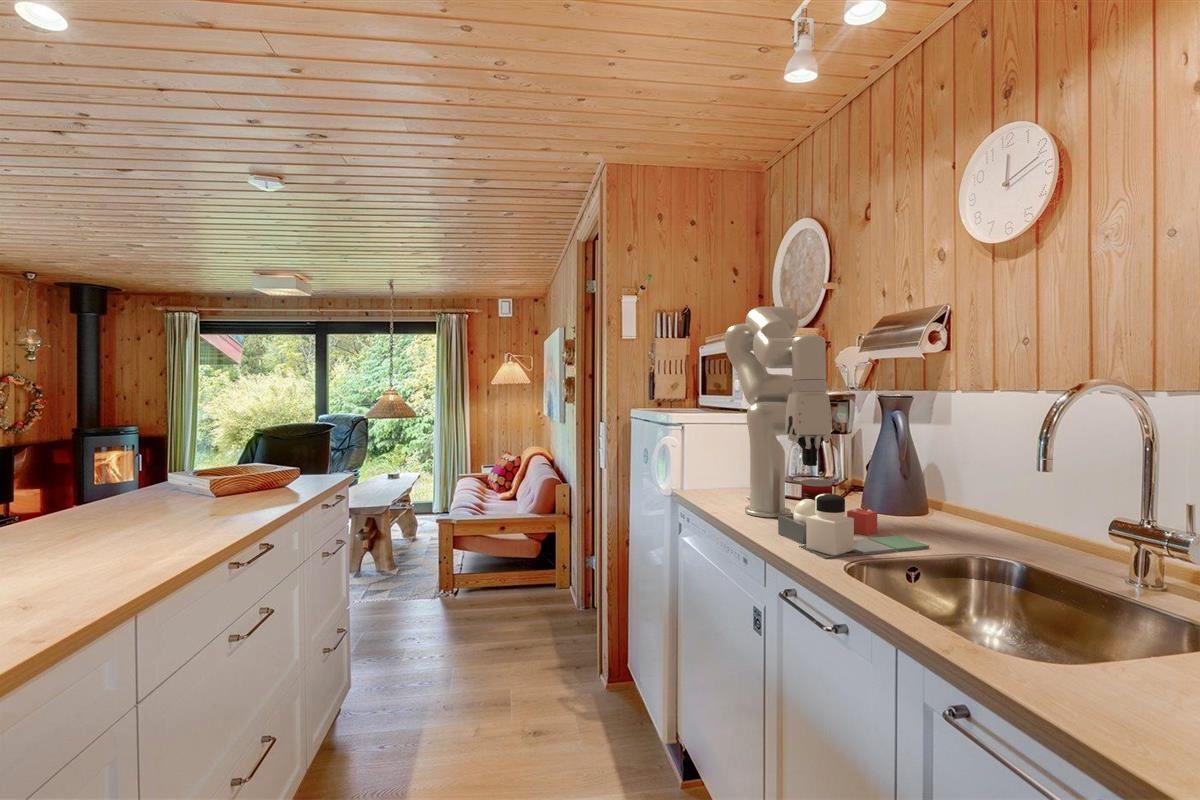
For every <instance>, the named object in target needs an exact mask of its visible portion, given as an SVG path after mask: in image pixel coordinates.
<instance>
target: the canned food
mask: <svg viewBox="0 0 1200 800" xmlns="http://www.w3.org/2000/svg"><path fill="white" fill-rule="evenodd" d="M800 485H801V494H800V498H801V500H804V499H812V500H814V501H815V497H816V496H818V495H820V494H833V482H832V481H831V480H827V479H818V478H817V479H815V478H814V479H813V478H808V479H807V478H806V479H803V480H801V484H800ZM801 500H800V501H801Z"/></svg>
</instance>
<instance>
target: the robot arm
mask: <svg viewBox="0 0 1200 800" xmlns="http://www.w3.org/2000/svg"><path fill="white" fill-rule="evenodd" d="M798 327H799V316H798V314H797V312H796V311H795V309H793V308H792V307H790V306H758V307H755V308H753V309H751V310H750V311H749V312H748V313H747V314H746V317H745V323H739V324H734V325H732V326H730V327H729V328H727V329H726V331H725V335H724V349H725V352H726V355H727V357H728V360H729V362H730V363H731V365H732V367H733V368H734V370H735V372H736V373H737V376H738V380H739V383H740V386H741V389H742V392H743V396H744V399H745V400H746V402H747V403H748V404H749V405H750V406H749V407H748V409H747V411H746V423H747V430H748V437H749V438H748V439H749V464H750V465H749V468H750V469H749V470H750V471H749V476H750V477H749V479H750V481H749V485H750V488H749V491H750V492H749V493H750V494H749V495H748V496H747V497H746V499H747V501H749V505H747V506H745V507H744V513H746V514H747V515H750V516H754V517H761V518H778V516H781V515H782V516H784V515H792V511H791V508H789V507H787V506H786V453H785V448H784V446H783V445H782V444H781V442H780V441H779V440H778V438H777V436H788V437H787V438H788V441H792V442H795V443H797V444H798V445H799V448H800V449H801V453H802V454H801V458H802V465H803V466H807V467H817V465H818V450H819V449H820V447H821V445H822V443H823V442H826V441H829V440H830V439H831V433H832V431H833V430H832V429H833V428H832V427H833V421H832V419H833V417H832V408H831V407H832V406H831V402H830V401H831V400H830V396H829V394H828V393H827V389H829V388H830V383H828V382H827V380H826V379H827V373H826V372H827V368H826V367H827V360H826V359H827V357H826V353H827V352H826V351H827V350H826V349H827V348H826V339H825V338H824V337H823V336H822V335H819V334H808V335H807V334H804V335H799V336H796V337H793V336H794V335H795V334H796V332H797V331H798ZM792 337H793V338H792ZM767 368H768V369H791V374H781V373H780V374H777V373H776V374H773V373H769V372H768V369H767Z"/></svg>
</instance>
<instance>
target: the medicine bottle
mask: <svg viewBox="0 0 1200 800" xmlns="http://www.w3.org/2000/svg"><path fill="white" fill-rule="evenodd" d="M815 513H816V514H817V515H813V516H808V517H807V544H806V545H807V547H806V548H807V549H810V550H812V551H815V552H817V553H821V554H822V553H823V554H827V555H829V556H836V555H844V554H846V553H849V552H850V551H853V550H854V539H855V533H854V519H853V518H850V517H847V516H845V515H846V499H845V497H843V496H842V495H839V494H835V493H832V494H820V495H818V496H816V497H815Z"/></svg>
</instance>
